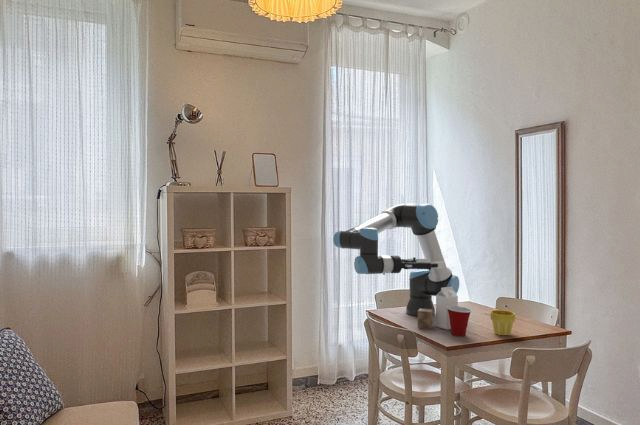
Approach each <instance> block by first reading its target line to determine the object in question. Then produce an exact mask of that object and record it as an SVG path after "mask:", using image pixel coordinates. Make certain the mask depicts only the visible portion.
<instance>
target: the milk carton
mask: <svg viewBox="0 0 640 425" xmlns="http://www.w3.org/2000/svg"><path fill="white" fill-rule="evenodd" d="M452 288H453V287H444V288H441V291H440V292H439V293H438V294H437V295H436V296H435V326H436V327H437V328H441V329H443V330H451V327H450V320H449V314H448V309H447V306H459V304H458V303H459V302H458V301H459V300H458V298H459V297H458V295H457V294H458V293H457V294H456V293H455V292H454V290H453V289H452Z"/></svg>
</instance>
